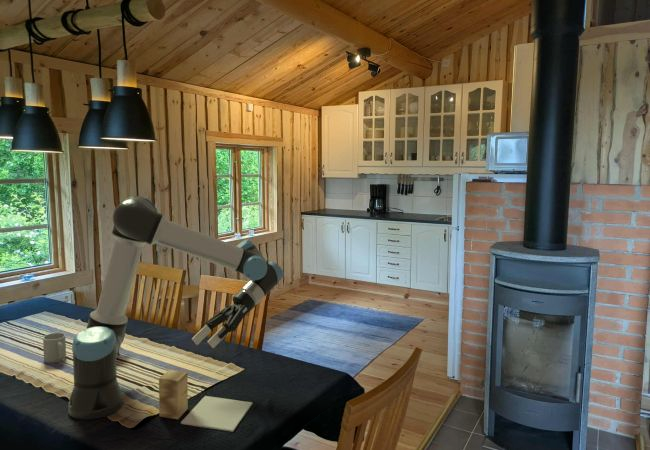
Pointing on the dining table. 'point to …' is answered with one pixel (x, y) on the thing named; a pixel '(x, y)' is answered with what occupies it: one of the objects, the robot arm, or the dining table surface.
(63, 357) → the cup
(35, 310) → the dining table surface
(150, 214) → the robot arm
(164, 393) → the oak block
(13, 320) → the dining table surface
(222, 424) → the cream square board
